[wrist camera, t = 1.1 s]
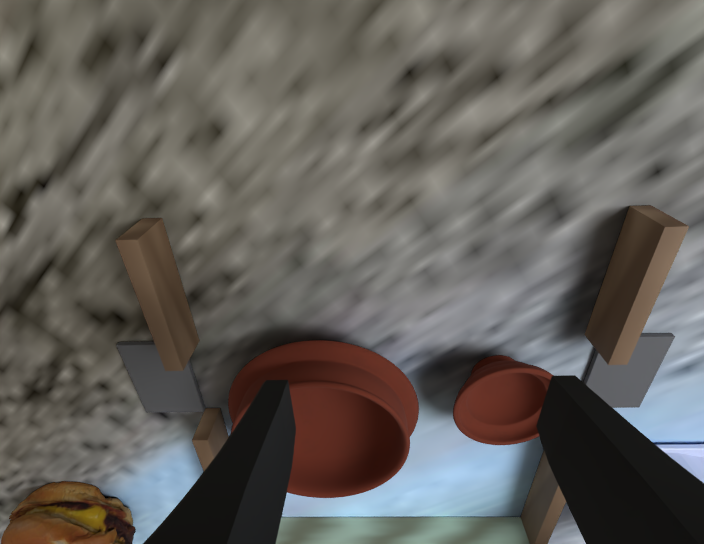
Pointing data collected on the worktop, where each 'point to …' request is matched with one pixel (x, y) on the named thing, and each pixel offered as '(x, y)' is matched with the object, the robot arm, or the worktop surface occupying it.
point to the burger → (69, 517)
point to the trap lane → (419, 532)
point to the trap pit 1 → (160, 380)
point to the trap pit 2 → (629, 372)
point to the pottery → (379, 410)
